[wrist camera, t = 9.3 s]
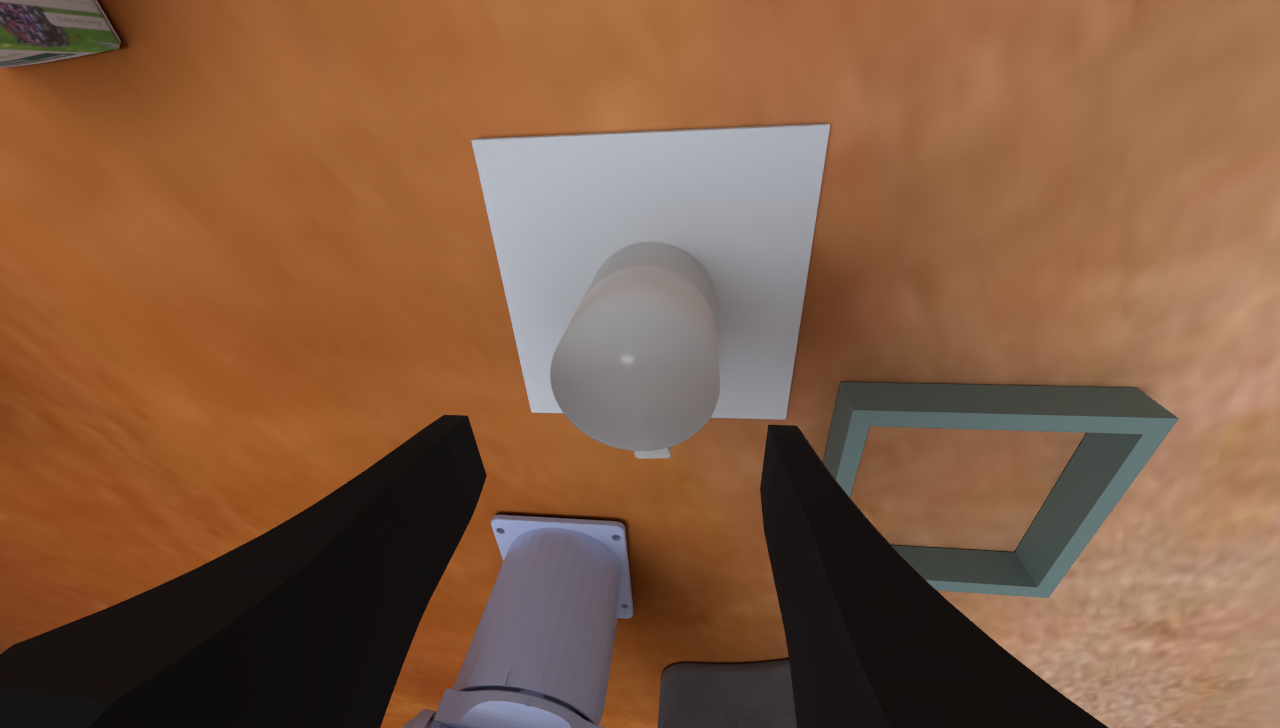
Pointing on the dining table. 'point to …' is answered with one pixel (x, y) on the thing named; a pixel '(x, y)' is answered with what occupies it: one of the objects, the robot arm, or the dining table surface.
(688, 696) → the flask
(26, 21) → the syrup box
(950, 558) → the holder
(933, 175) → the dining table surface
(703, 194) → the mat
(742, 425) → the dining table surface
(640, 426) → the jug
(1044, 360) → the dining table surface
